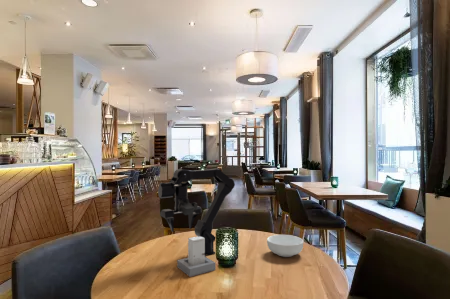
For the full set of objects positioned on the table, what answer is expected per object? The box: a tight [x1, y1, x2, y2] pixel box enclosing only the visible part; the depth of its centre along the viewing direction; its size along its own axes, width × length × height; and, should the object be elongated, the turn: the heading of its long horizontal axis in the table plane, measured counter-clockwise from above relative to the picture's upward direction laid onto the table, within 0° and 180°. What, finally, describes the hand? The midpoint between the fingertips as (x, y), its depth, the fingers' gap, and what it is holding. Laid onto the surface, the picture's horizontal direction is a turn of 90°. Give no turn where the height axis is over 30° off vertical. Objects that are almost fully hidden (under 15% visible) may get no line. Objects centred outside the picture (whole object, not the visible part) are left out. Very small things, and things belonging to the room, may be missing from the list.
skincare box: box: [187, 236, 206, 266], centre depth 121 cm, size 6×4×12 cm
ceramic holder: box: [176, 256, 217, 278], centre depth 121 cm, size 12×12×3 cm
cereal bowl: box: [266, 234, 304, 258], centre depth 137 cm, size 17×17×7 cm
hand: (181, 230), depth 133 cm, fingers open, 9 cm apart
